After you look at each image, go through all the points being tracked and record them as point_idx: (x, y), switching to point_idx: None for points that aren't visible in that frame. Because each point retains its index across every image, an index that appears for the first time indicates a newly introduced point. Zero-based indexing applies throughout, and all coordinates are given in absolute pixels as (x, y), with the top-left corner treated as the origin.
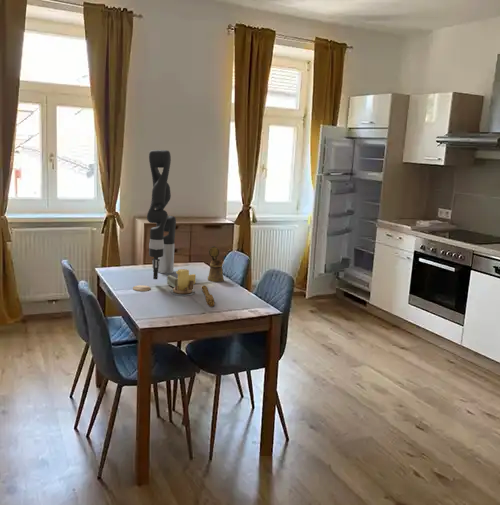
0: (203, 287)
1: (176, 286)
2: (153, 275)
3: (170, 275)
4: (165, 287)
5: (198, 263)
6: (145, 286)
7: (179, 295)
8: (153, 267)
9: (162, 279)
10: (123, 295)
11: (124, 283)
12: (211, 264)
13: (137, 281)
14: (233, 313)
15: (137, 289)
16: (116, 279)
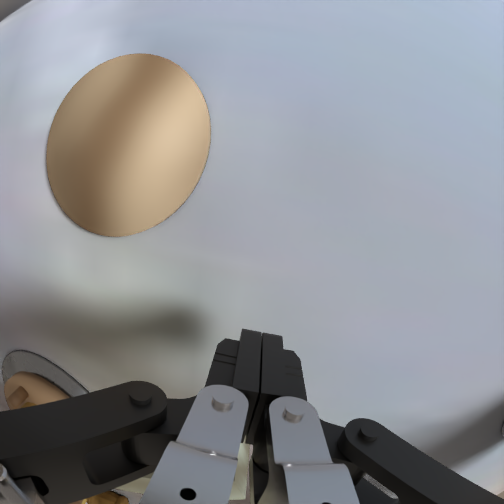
0: (89, 499)
1: (12, 405)
2: (238, 355)
3: (231, 495)
4: (157, 378)
5: None
6: (151, 186)
7: (3, 373)
8: (161, 468)
9: (422, 396)
10: (18, 29)
11: (357, 13)
12: None
13: (427, 154)
14: None
15: (68, 99)
16: (473, 17)
